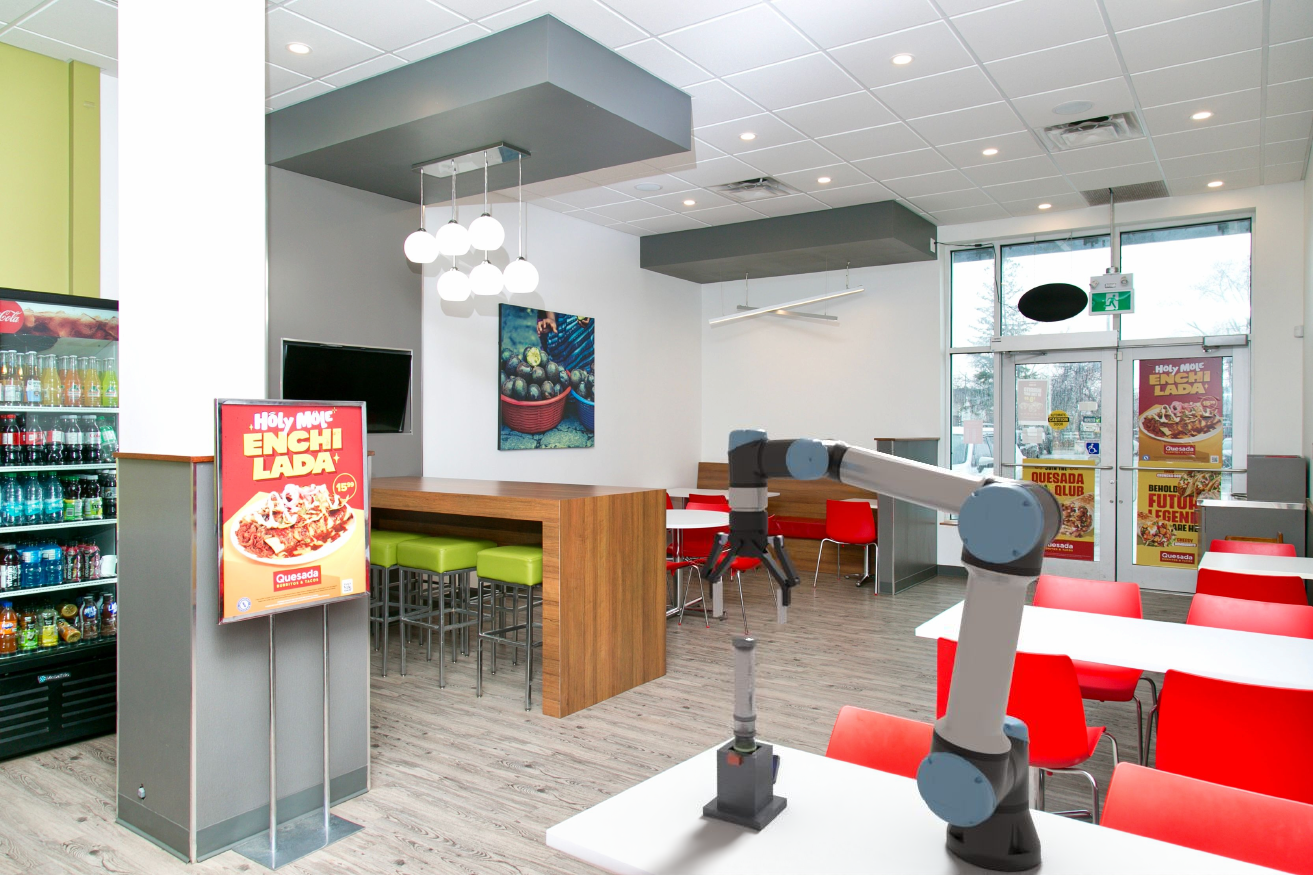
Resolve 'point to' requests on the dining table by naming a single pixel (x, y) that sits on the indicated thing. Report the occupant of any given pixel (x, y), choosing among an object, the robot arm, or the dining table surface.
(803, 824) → the dining table surface
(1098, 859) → the dining table surface
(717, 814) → the stand base
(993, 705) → the robot arm
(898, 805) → the dining table surface
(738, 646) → the column
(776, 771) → the smartphone
